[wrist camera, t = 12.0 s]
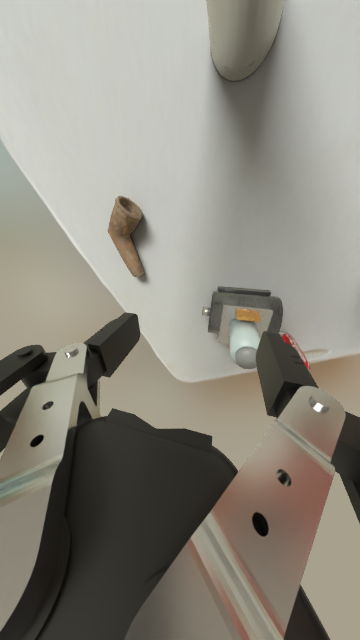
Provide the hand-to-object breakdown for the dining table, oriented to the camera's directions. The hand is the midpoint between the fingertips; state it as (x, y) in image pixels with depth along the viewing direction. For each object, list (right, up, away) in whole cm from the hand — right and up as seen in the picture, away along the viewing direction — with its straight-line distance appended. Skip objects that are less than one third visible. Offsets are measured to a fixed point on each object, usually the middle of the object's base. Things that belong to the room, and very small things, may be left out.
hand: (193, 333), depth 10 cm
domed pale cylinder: (+12, -1, +22) cm, 25 cm away
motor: (+15, +4, +31) cm, 35 cm away
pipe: (-12, +21, +30) cm, 39 cm away
